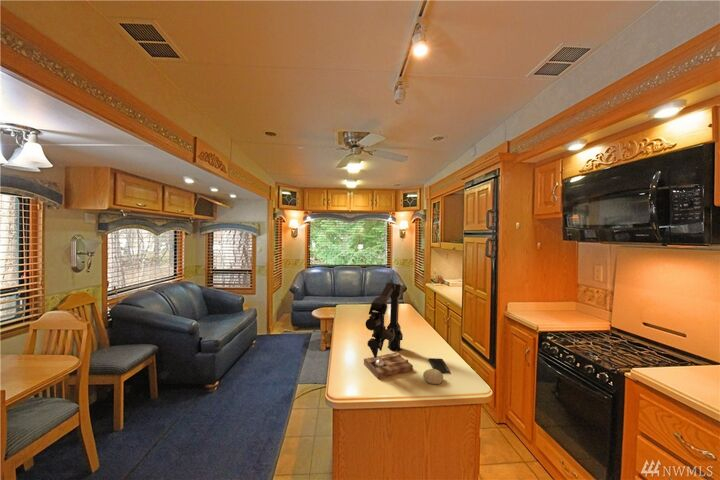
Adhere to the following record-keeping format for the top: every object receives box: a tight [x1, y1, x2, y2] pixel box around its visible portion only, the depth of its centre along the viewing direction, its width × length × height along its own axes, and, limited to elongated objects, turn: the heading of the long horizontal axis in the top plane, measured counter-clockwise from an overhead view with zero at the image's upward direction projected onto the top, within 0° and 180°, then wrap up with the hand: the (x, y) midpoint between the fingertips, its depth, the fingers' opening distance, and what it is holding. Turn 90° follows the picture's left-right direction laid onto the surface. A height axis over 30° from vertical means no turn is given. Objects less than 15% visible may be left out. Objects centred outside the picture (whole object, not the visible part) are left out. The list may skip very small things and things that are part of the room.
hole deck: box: [363, 352, 414, 380], centre depth 141 cm, size 20×16×4 cm
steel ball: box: [375, 359, 385, 368], centre depth 139 cm, size 5×5×5 cm
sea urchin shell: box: [422, 368, 444, 385], centre depth 130 cm, size 9×8×8 cm
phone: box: [428, 357, 451, 374], centre depth 144 cm, size 8×1×15 cm
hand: (378, 354), depth 142 cm, fingers open, 9 cm apart
